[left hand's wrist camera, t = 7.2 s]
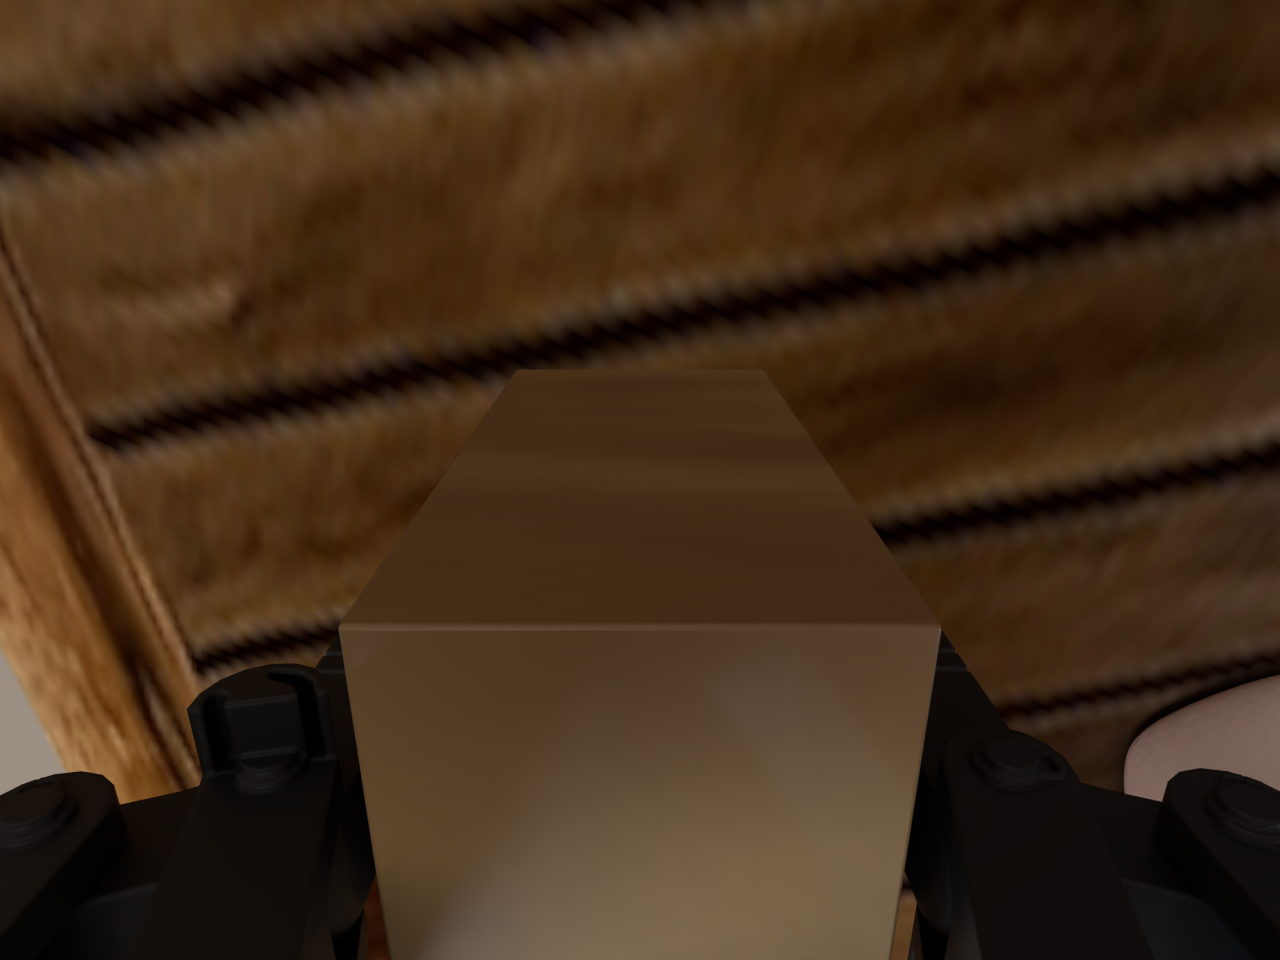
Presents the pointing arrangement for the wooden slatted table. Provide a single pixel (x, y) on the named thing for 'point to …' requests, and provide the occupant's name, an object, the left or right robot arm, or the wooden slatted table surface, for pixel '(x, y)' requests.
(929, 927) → the left robot arm
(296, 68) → the wooden slatted table surface
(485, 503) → the bar
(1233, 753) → the anatomical model
